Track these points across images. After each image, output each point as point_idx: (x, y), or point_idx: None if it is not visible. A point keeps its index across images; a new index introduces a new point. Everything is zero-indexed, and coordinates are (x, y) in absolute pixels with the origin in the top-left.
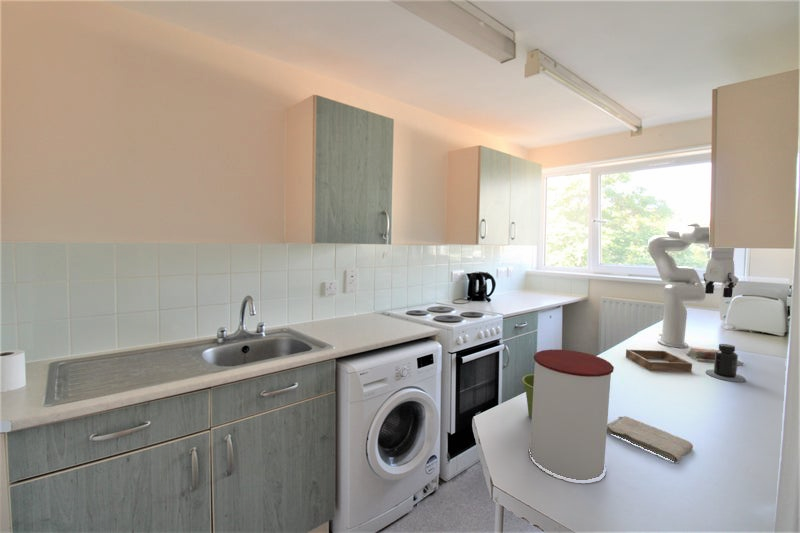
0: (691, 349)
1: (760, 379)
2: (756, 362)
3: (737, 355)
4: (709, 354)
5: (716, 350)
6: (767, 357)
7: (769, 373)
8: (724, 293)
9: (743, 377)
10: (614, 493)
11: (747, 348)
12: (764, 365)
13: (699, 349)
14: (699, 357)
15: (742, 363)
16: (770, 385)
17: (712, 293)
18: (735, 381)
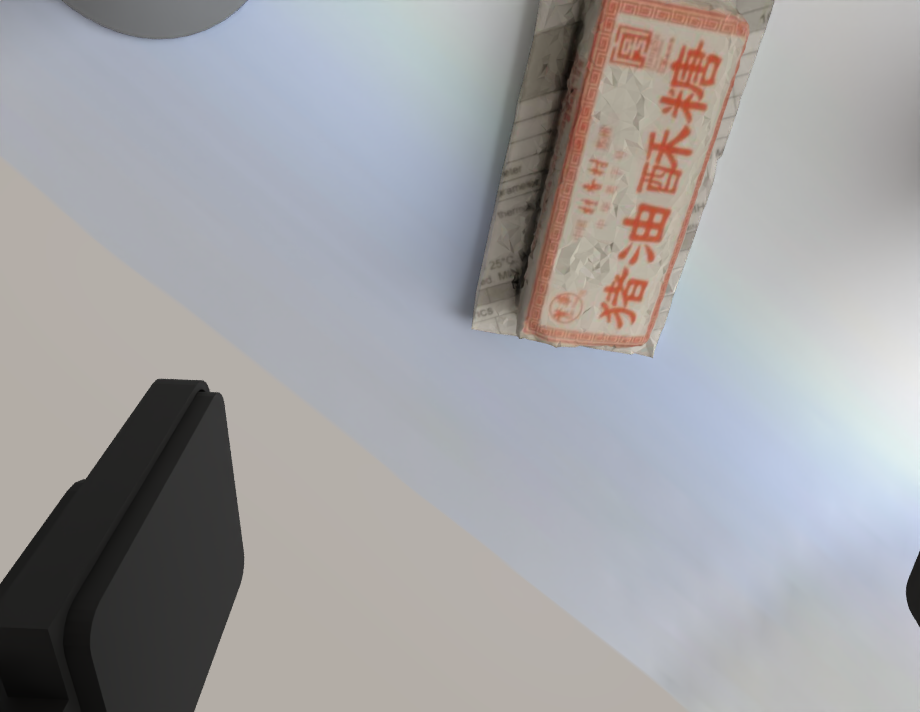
0: (708, 2)
1: (135, 162)
2: (540, 463)
3: (516, 332)
4: (570, 106)
5: (630, 236)
6: (648, 616)
7: (298, 349)
8: (110, 449)
9: (108, 22)
10: None
11: (850, 656)
12: (476, 461)
13: (668, 72)
14: (586, 5)
15: (473, 316)
16: (5, 124)
17: (911, 576)
18: None
